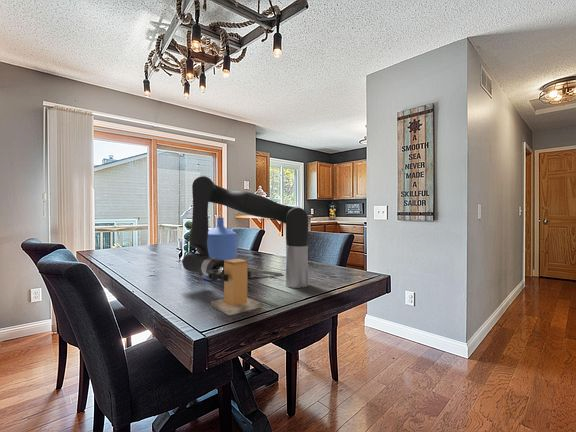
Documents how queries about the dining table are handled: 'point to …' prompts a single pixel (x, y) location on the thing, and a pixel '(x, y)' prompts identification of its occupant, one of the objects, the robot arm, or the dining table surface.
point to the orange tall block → (235, 281)
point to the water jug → (221, 243)
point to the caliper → (255, 271)
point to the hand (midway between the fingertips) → (238, 276)
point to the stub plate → (235, 309)
